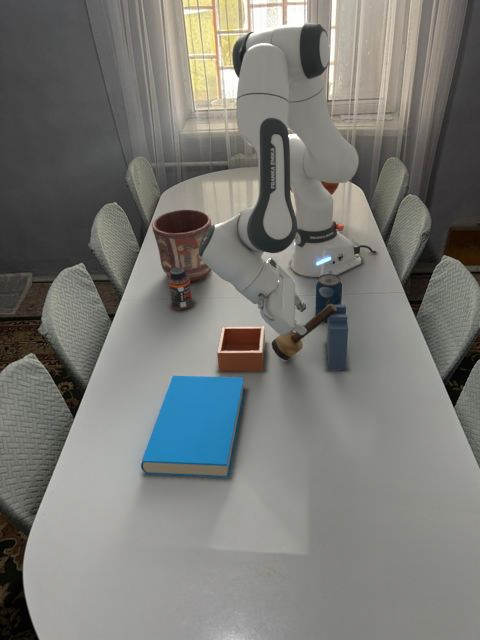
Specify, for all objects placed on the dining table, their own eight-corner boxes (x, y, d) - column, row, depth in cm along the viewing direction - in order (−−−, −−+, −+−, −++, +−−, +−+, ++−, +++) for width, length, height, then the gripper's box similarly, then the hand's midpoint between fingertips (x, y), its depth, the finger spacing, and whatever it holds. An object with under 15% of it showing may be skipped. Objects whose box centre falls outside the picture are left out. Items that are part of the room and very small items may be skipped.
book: (243, 376, 115) (228, 463, 95) (245, 391, 117) (230, 478, 97) (169, 375, 116) (138, 459, 96) (172, 389, 119) (142, 474, 99)
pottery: (152, 286, 157) (140, 231, 146) (174, 259, 170) (165, 207, 159) (206, 291, 153) (198, 235, 142) (224, 263, 166) (219, 211, 155)
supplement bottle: (189, 311, 144) (184, 276, 137) (169, 310, 145) (163, 275, 139) (196, 300, 149) (190, 265, 142) (176, 299, 150) (170, 264, 143)
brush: (271, 364, 124) (269, 312, 114) (272, 349, 128) (270, 298, 119) (335, 364, 123) (338, 311, 113) (333, 349, 127) (336, 297, 118)
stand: (328, 370, 121) (330, 323, 113) (326, 344, 129) (328, 299, 121) (345, 370, 121) (348, 323, 113) (342, 344, 129) (345, 299, 121)
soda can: (330, 328, 135) (332, 289, 127) (309, 319, 138) (310, 280, 131) (345, 316, 139) (348, 278, 131) (325, 308, 142) (326, 270, 135)
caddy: (219, 371, 123) (217, 353, 119) (224, 344, 131) (222, 326, 128) (263, 371, 122) (262, 352, 119) (265, 344, 130) (264, 326, 127)
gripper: (268, 300, 104) (315, 338, 109) (272, 253, 120) (313, 289, 125) (247, 318, 107) (294, 355, 112) (254, 271, 123) (295, 304, 128)
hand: (304, 320), depth 119 cm, fingers open, 8 cm apart
